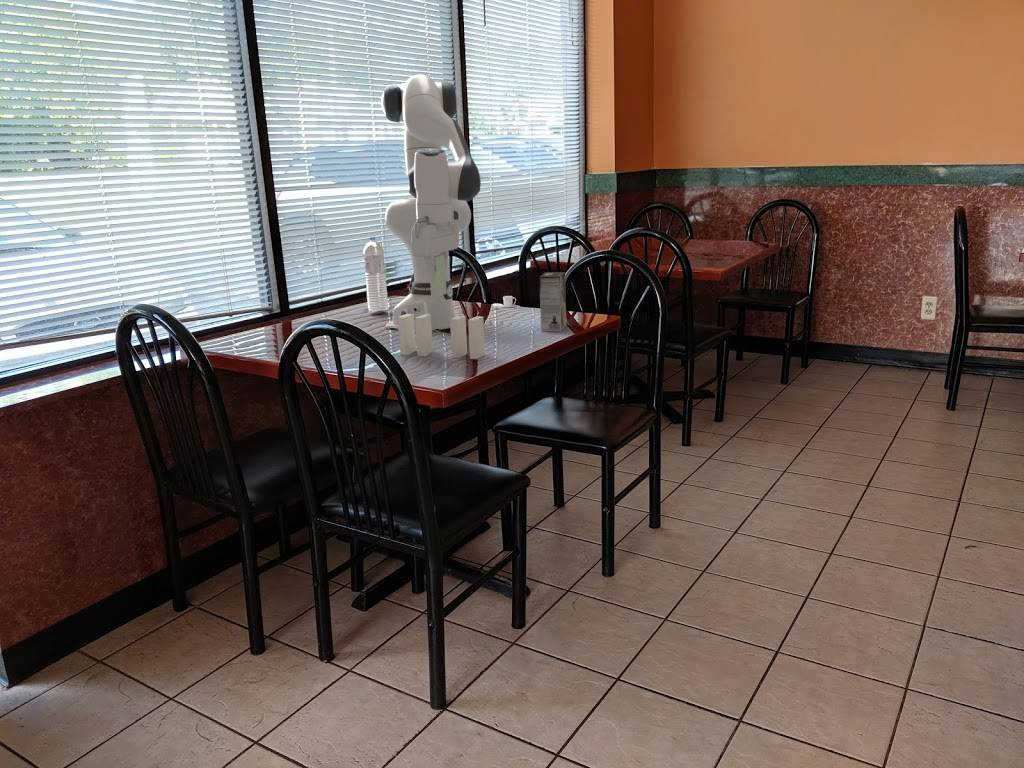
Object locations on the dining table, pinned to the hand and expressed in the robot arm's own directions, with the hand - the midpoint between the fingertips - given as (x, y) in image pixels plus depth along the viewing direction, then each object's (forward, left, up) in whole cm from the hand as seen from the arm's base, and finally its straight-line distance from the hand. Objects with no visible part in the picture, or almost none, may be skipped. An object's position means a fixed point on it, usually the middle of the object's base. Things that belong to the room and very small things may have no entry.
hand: (437, 270), depth 211 cm
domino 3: (0, 0, -6) cm, 6 cm away
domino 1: (-10, 0, -22) cm, 24 cm away
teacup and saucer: (-11, +70, -22) cm, 74 cm away
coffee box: (+18, +38, -22) cm, 47 cm away
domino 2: (-5, 0, -22) cm, 22 cm away
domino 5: (+10, 0, -22) cm, 24 cm away
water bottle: (-51, +55, -22) cm, 78 cm away
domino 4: (+5, 0, -22) cm, 22 cm away
